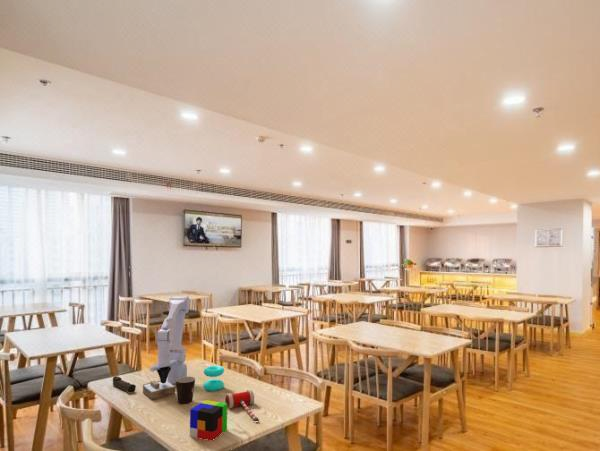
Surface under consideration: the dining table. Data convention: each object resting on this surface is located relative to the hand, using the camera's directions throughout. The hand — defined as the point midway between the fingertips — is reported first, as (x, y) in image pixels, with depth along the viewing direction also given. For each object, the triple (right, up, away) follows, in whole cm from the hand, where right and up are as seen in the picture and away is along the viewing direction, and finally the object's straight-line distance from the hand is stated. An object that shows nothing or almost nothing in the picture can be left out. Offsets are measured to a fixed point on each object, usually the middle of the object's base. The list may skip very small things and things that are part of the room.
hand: (163, 382), depth 196 cm
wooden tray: (-2, -5, -2) cm, 5 cm away
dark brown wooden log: (-23, -5, +5) cm, 24 cm away
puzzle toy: (+31, -3, -42) cm, 52 cm away
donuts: (+23, -6, +6) cm, 25 cm away
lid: (-2, -2, -1) cm, 3 cm away
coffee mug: (+13, -4, -13) cm, 19 cm away
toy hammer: (+43, -5, -20) cm, 47 cm away
